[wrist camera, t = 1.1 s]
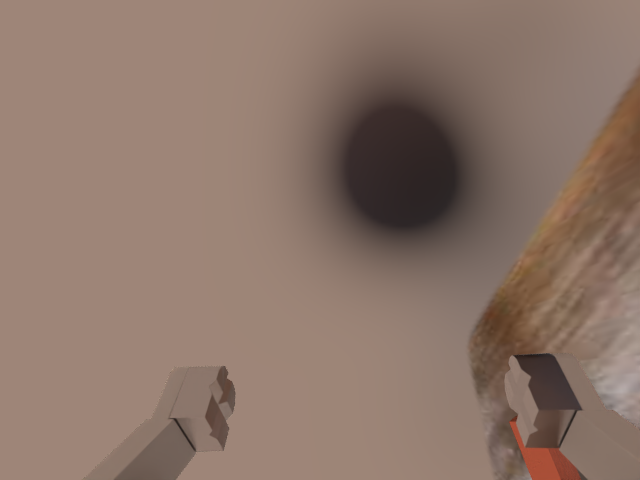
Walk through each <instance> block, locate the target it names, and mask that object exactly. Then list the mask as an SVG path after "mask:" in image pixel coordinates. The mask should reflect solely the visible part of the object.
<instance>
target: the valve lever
mask: <svg viewBox="0 0 640 480" xmlns="http://www.w3.org/2000/svg"><path fill="white" fill-rule="evenodd" d="M517 417H518V415H517V416H516V417H515V418H513V419H512V420H511V421H509V423H510V425H511V428H512V430H513V433H514V435H515V438H516V440H517V443H518V445H519V448H520V450H521V453H522V455H523V458H524V460H525V463H526V465H527V468H528V470H529V473H530V475H531V478H532V480H581V478H580V476H579V473H578V471H577V469H576V467H575V466H574V465H573V464H572V463H571V462H570V461H569V460H568V459H567V458H566V457H565V456H564V455H563V454H562V453H561V452H560V451H559V449H560V448H525V447H524V444H523V441H522V438H521V436H520V433H519V430H518V428H517V425H516V421H517Z"/></svg>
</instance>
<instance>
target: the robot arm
mask: <svg viewBox="0 0 640 480" xmlns="http://www.w3.org/2000/svg"><path fill="white" fill-rule="evenodd" d="M509 366H510V369H511V370H509V371H508V372H507V373H506V375H505V380H504V382H505V392H506V396H507V400H508V403H509V406H510V408H511V409H513V410H514V411H515V412H516V413H517V414H518V417H517V421H516V425H517V428H518V430H519V433H520V436H521V438H522V441H523V444H524V447H525V448H560V449H559V451H560V452H561V453H562V454H563V455H564V456H565V457H566V458H567V459H568V460H569V461H570V462H571V463H572V464H573V465H574V466H575V467H576V468H577V469H578V470H579V471H580V472H581V473H582V474H583V475H584V476H585V477H586V478H587V479H588V480H640V430H639V429H638V428H637V427H635V426H634V425H633V424H631V423H630V422H628V421H627V420H626V419H624V418H623V417H622V416H620V415H619V414H618V413H616V412H615V411H614V410H606V408H605V406H604V404H603V403H602V401H601V399H600V398H599V396H598V394H597V392H596V391H595V389H594V387H593V385H592V384H591V382H590V380H589V379H588V377H587V375H586V373H585V372H584V370H583V368H582V366H581V365H580V363H579V361H578V360H577V358H576V356H575V355H573V354H572V353H556V354H550V353H543V354H524V355H512V356H511V357H510V359H509ZM227 375H228V371H227V369H226V367H225V366H208V367H175V368H174V369H173V370H172V371H171V373H170V375H169V377H168V380H167V382H166V384H165V387H164V389H163V391H162V394H161V396H160V399H159V401H158V404H157V406H156V408H155V411H154V413H153V416H152V418H151V419H149V420H145V421H144V422H143V423H142V424H141V425H140V426H139V427H138V428H137V429H136V430H135V431H134V432H132V433H131V434H130V435H129V436H128V437H127V438H126V439H125V440H124V441H123V442H122V443H121V444H120V445H119V446H118V447H117V448H116V449H114V450H113V451H112V452H111V453H110V454H109V455H108V456H107V457H106V458H105V459H104V460H103V461H102V462H101V463H100V464H99V465H97V466H96V467H95V468H94V469H93V470H92V471H91V472H90V473H89V474H88V475H87V476H86V477H85V478H84V479H83V480H176V479H177V477H178V476H179V475H180V474H181V472H182V471H183V470H184V468H185V467H186V466H187V465H188V463H189V462H190V461H191V459H192V458H193V457H194V455H195V454H196V453H195V452H204V451H223V450H224V447H225V443H226V439H227V435H228V431H229V427H228V424H227V423H226V420H227V419H228V418H229V417H230V416H231V415H232V414H233V410H234V406H235V388H234V385H233V383H232V381H230V380H229V379H227Z"/></svg>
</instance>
